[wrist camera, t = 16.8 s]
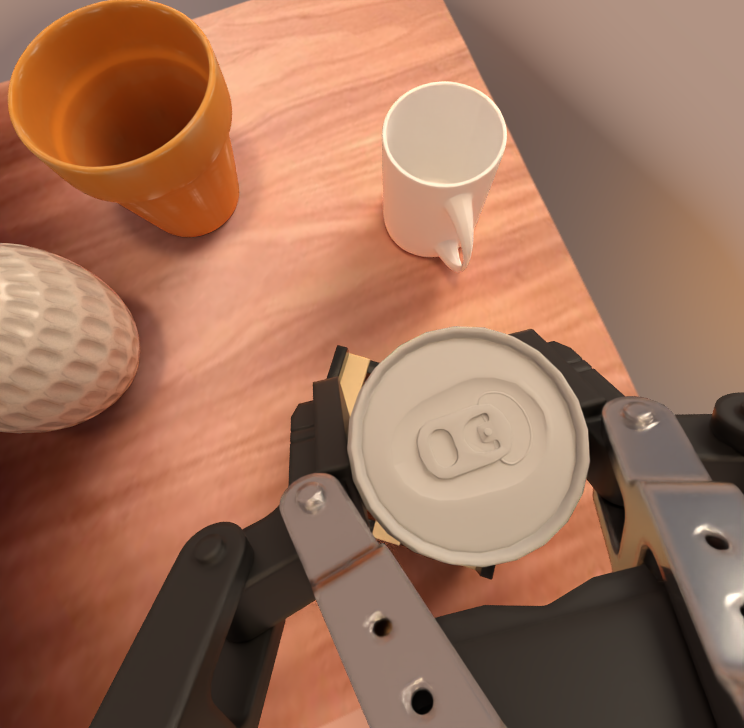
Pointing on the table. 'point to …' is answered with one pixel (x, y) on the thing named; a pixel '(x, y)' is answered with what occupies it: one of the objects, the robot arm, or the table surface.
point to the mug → (439, 168)
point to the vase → (59, 342)
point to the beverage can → (468, 446)
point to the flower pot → (131, 113)
